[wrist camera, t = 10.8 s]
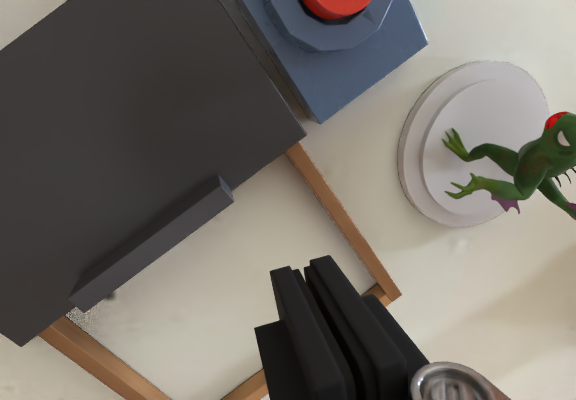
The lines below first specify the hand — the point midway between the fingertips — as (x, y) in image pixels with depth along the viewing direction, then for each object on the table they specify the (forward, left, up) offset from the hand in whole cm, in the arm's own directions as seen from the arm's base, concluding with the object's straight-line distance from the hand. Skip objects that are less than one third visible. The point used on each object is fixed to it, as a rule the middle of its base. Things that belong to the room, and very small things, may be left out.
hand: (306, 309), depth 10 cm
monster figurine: (-14, +9, -15) cm, 23 cm away
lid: (+6, -6, -13) cm, 16 cm away
